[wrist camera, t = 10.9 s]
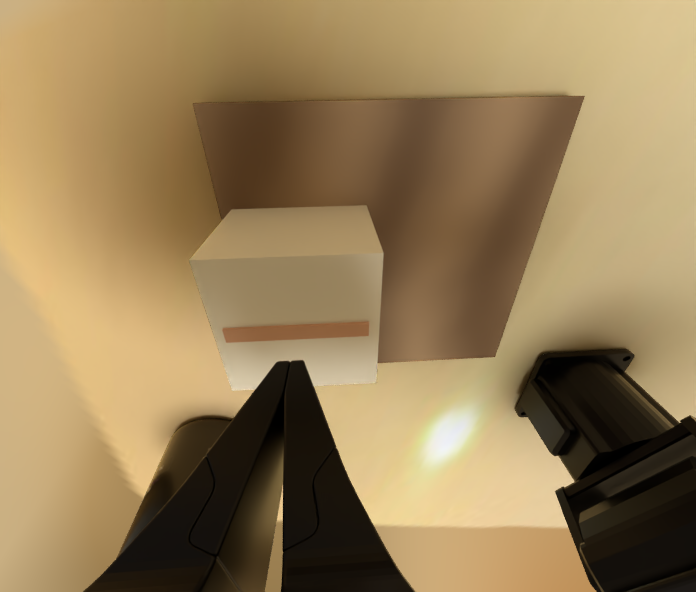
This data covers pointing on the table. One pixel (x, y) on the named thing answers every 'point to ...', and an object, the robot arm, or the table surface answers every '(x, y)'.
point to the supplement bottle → (175, 469)
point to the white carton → (293, 292)
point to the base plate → (409, 196)
